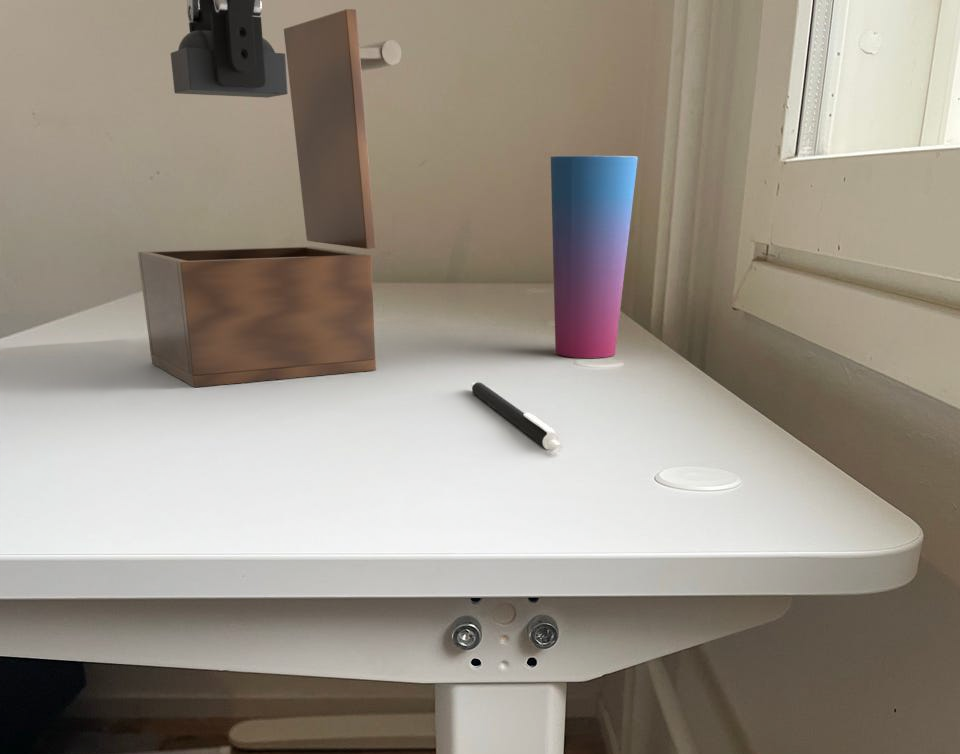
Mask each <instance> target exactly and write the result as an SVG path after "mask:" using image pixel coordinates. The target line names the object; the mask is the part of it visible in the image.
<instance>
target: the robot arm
mask: <svg viewBox="0 0 960 754" xmlns="http://www.w3.org/2000/svg"><path fill="white" fill-rule="evenodd" d="M262 10H263V4H262V0H186V11H187V12H186V13H187V19H188V27H189V28H188V29H189V33H190V32H192V31H196V30H205V31H211V34H212V45H213V56H214V68H215V79H216V82H217V83H218V85H220V86H232V87H252V88H259V87H263V86H264V85H265V81H266V80H265V66H264V52H263V38H264V37H263V24H262V17H261V15H262Z"/></svg>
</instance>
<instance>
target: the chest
mask: <svg viewBox="0 0 960 754" xmlns="http://www.w3.org/2000/svg"><path fill="white" fill-rule="evenodd" d="M137 256H138V265H139V274H140V280H141V281H140V283H141V288H142V289H141V290H142V296H143V297H142V298H143V304H144V311H145V320H146V327H147V337H148V344H149V352H150V359H151V364H152V365H154V366H156V367H158V368H159V369H161V370H162V371H165V372H167V373H168V374H170V375H172V376H173V377H175V378H177V379H178V380H180V381H183V382H185V383H186V384H188V385H189V386H192V387H193V388H203V387H214V386H223V385H233V384H234V385H235V384H244V383H245V384H246V383H255V382H265V381H276V380H277V381H278V380H286V379H296V378H307V377H308V378H309V377H318V376H330V375H339V374H350V373H359V372H362V373H363V372H371V371H376V370H377V363H376V361H377V360H376V342H375V341H376V340H375V338H376V337H375V316H374V315H375V314H374V290H373V266H372V265H373V264H372V263H373V262H372V261H373V259H372V255H371V254H366V253H360V252H353V251H345V250H337V249H332V248H331V249H330V248H323V247H317V246H283V247H282V246H281V247H255V248H254V247H251V248H247V247H246V248H221V249H219V248H218V249H217V248H216V249H187V250H185V249H183V250H155V251H153V250H152V251H138V252H137Z"/></svg>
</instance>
